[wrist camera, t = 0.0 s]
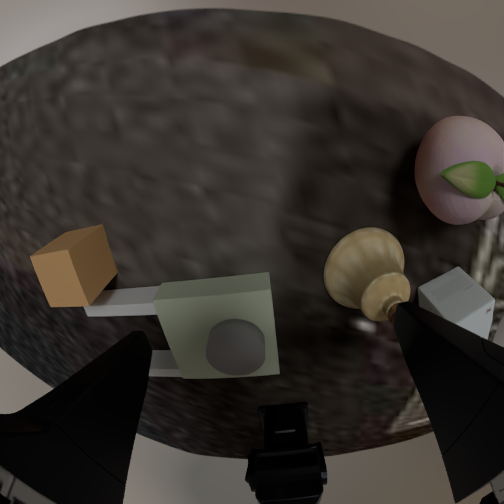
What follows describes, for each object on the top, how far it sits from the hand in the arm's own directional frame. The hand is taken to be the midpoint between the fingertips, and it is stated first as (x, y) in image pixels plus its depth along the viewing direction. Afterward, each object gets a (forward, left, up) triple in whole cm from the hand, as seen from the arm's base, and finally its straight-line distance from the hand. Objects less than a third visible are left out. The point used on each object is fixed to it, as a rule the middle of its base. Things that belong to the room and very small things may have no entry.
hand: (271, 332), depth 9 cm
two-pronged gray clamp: (-10, +9, -15) cm, 20 cm away
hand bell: (-6, -9, -15) cm, 19 cm away
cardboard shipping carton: (-1, +17, -15) cm, 23 cm away
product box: (-11, -19, -15) cm, 27 cm away
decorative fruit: (+4, -16, -15) cm, 22 cm away
